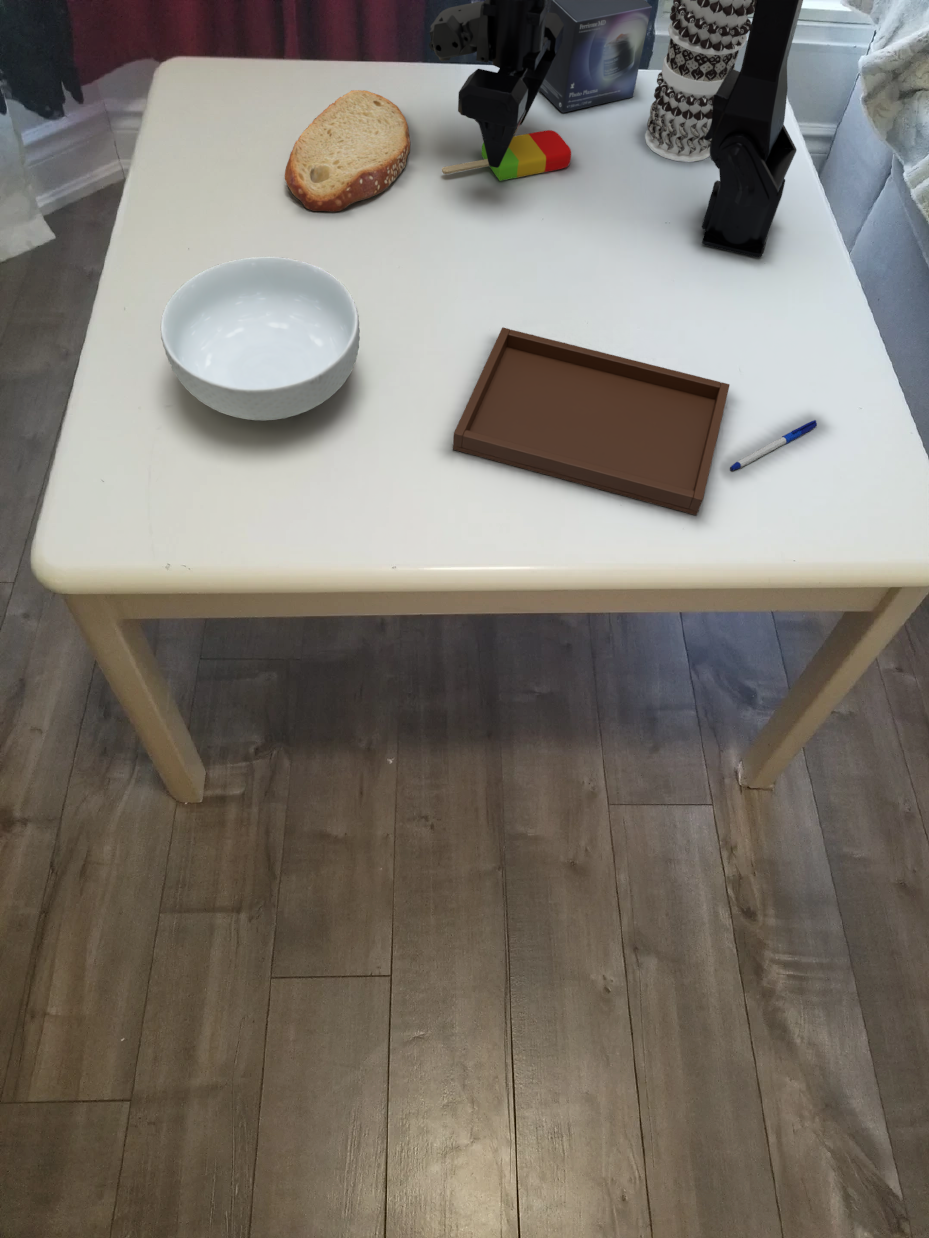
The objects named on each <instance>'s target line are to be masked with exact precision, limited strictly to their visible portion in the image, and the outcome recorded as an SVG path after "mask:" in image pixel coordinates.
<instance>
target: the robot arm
mask: <svg viewBox="0 0 929 1238" xmlns="http://www.w3.org/2000/svg"><path fill="white" fill-rule="evenodd" d="M803 3H804V0H757V2H756V6H755V10H754V13H753V14H752V15H753V16H752V19H751V28H750V31H748V36H747V40H746V47H745V50H744V53H743V54H744V55H743V59H742V64H741V68H740V70H736V69H735V70H734V69H730V70H729V72H728V73H727V75H726V77H725V79H724V80H723V82H722V84H721V85H720V87H719V89H718V91H717V92H716V94H715V96H714V100H713V109H712V123H711V126H710V128H709V130H708V132H707V134H706V136H705V137H704V139H705V140H709V139H711V143H710V152H709V153H710V156H709V157H710V160H711V162H713V164H714V165H715V166H716V168H717V169H718V171H719V172H718V173H719V180H715V181H714V182H713V183H714V184H713V187H712V190H711V192H710V196H709V200H708V204H707V206H706V211H705V213H704V217H703V220H702V224H701V229H702V230H703V231H704V233H703V236H702V240H701V244H702V245H703V246H706V247H710V248H715V249H719V250H724V251H726V252H727V251H728V252H732V253H735V254H739V255H740V254H741V255H745V256H750V257H753V258H758V259H759V258H762V257H763V255H764V252H765V248H766V244H767V240H768V236H769V233H770V231H771V227H772V223H773V221H774V218H775V216H776V213H777V210H778V207H779V206H780V202H781V199H782V197H783V193H784V188H785V184H786V179H785V177H786V175H787V173H788V171H789V169H790V166H791V164H792V162H793V160H794V157H795V155H796V153H797V147H796V145H795V143H794V142H793V139H792V137H791V136H790V134H789V132H788V130H787V128H786V126H785V124H784V123H785V118H786V107H787V99H788V60H789V56H790V51H791V48H792V45H793V40H794V38H795V33H796V29H797V26H798V21H799V18H800V14H801V12H802V11H801V10H802V6H803ZM551 5H552V0H483V1H474V2H470V3H466V4H461V5H456V6H452V7H448V8H446V9H443V10H442V11H441V12H440V13H439V14H438V15H437V16H436V18H435V19H434V21H433V22H432V23H431V25H430V30H429V36H430V41H429V43H428V47H429V49H430V51H433V52H434V53H435V56H437V58H438V59H439V61H440V62H447V61H450V60H451V58H456V57H461V56H466V55H472V54H475V53H476V56H475V57H476V59H475V60H476V62H482V63H485V64H486V63H489V62H492V65H493V66H494V67H495V68H498V71H497V72H496V71H492V70H488V69H483V68H477V69H475V70H474V72H472V73H471V74H469V76H468V77H467V78H466V80H465V81H464V83H463V84H462V86H461V87H460V89H459V91H458V97H457V98H458V99H457V112H458V113H459V114H460V115H461V116H463V117H464V116H465V117H466V118H468V119H470V120H474V121H475V123H477V124H478V126H479V130H480V133H481V138H482V141H483V142H484V146H485V150H486V154H487V159H488V163H489V166H491V167H495V168H498V167H499V166H500V164H501V162H502V160H503V158H504V156H505V154H506V152H507V149H508V147H509V145H510V143H511V141H512V139H513V137H514V136H516V133H517V130H518V129H519V127H520V126H521V125H523V124H524V122H525V120H526V118H527V116H528V113H529V111H530V110H531V107H532V106H533V103H534V102H535V99H536V98H537V96H538V94H539V91H540V88H541V86H542V84H543V81H544V79H545V77H546V75H547V73H548V71H549V69H550V67H551V65H552V63H553V61H554V59H555V57H556V55H557V51H558V49H559V47H560V45H561V43H562V37H563V29H564V24H563V22H562V21H561V19H560V18H559V16H558V15H557V14H555V13H550V12H549V9H550V7H551ZM548 40H549V41H550V48H547V43H548ZM489 166H488V167H489Z"/></svg>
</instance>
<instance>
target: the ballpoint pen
mask: <svg viewBox="0 0 929 1238" xmlns="http://www.w3.org/2000/svg"><path fill="white" fill-rule="evenodd" d="M817 426H818V423H817V420H816V419H814V420H811V421H809V422H807V423H804V424H803V425H801V426H799V427H798V428H795V429H793V430H791V431H789V432H788V433H786V434H784V435H782V436H781V437H780V438H778V439H776V440H775V441H773V442H770V443H769V444H767V445H765V446H763V447H761V448H760V449H758V450H756V451H754V452H752V453H750V454H748V455H747V456H745V457H743V458H740V459H739V460H737V461H736V462H734V463H733V464H732V465H731V466H730V467H729V470H730V471H736V470H738V469H741V468H743V467H745V466H747V465H749V464H750V463H753V462H754V461H756V460H758V459H760V458H761V457H764V456H765V455H767V454H769V453H771V452H772V451H774V450H777V449H778V448H780V447H782V446H783V445H786V444H789V443H791V442H792V441H795V440H796V439H798V438H799V437H802V436H803V435H805V434H806V433H809V432H811V431H812V430H813V429H814V428H816V427H817Z"/></svg>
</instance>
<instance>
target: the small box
mask: <svg viewBox="0 0 929 1238" xmlns="http://www.w3.org/2000/svg"><path fill="white" fill-rule="evenodd" d="M652 8H653V6H652V5H650V3H648V2H647V1H646V0H552V5H551V7H550V9H549V10H548V12H550V13H555V14H557V15H558V16H559V18H560V19H561V21H562V22H563V24H564V29H563V37H562V43H561V45H560V47H559V49H558V51H557V55H556V57H555V59H554V61H553V63H552V65H551V67H550V69H549V71H548V73H547V75H546V77H545V79H544V81H543V84H542V86H541V88H540V90H539V91H540V92H541V93H542V94H543V95H544V96H545V97H546V98H547V99H548V100H549V101H550V102H551V103H552V104H553V106H555V108H557V110H558V111H560V112H561V113H568V112H572V111H576V110H580V109H584V108H589V107H594V106H598V105H602V104H607V103H611V102H616V101H620V100H625V99H630V98H633V97H634V94H635V88H636V84H637V78H638V74H639V69H640V63H641V60H642V54H643V49H644V46H645V45H644V44H645V40H646V36H647V31H648V26H649V21H650V16H651V11H652ZM547 48H550V41H549V40H548V43H547Z"/></svg>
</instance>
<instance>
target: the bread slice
mask: <svg viewBox="0 0 929 1238" xmlns="http://www.w3.org/2000/svg"><path fill="white" fill-rule="evenodd" d="M410 151H411V138H410V130H409V125H408V122H407V120H406V117H405V115H404V114H403V113H402V111H401V109H400V108H399V106H398V105H396V104H395V103H394V102H392V101H391V100H390V99H388V98H386V97H384V96H382V95H380V94H379V93H378V94H377V93H374V92H371V91H368V90H360V89H358V90H357V89H356V90H355V89H353V90H350V91H349V92H347V93H346V94H343V95H342V96H339V97H338V98H337V99H336V100H335V101H334V102H332V103H331V104H329V105H328V106H327V107H326V108H325V109H324V110H323V111H322V112H320V114H318V115H317V117H315V118H314V119H313V121H312V122H311V123H310V124H308V126H307V127H306V128H305V129H304V130H303V132H302V133H301V134H300V135H299V137H298V139H297V140H296V141H295V142H294V144H293V147H292V150H291V151H290V154H289V158H288V161H287V163H286V166H285V170H284V180H285V183H286V185H287V186H288V188H289V190H290V192H291V194H292V195H293V196H294V197H295V198H296V199H298V200H299V201H300V202H301V203H302V205H303V206H304V208H306V209H308V210H310V211H313V212H341V211H344V210H346V208H347V207H349V206H350V205H352V204H354V203H358V202H360V201H363V200H367V199H371V198H373V197H375V196H378V195H380V194H381V193H383V192H385V191H386V190H387V189H388V188H389V187H390V185H391V184H393V182H395V181H396V179H398V177H399V176H400V174H401V173H402V171H403V170H405V168H406V163H407V160H408V155H409V154H410Z"/></svg>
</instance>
